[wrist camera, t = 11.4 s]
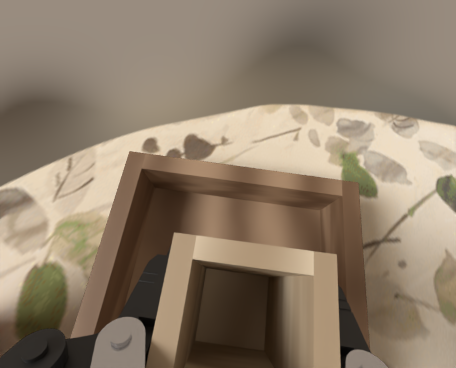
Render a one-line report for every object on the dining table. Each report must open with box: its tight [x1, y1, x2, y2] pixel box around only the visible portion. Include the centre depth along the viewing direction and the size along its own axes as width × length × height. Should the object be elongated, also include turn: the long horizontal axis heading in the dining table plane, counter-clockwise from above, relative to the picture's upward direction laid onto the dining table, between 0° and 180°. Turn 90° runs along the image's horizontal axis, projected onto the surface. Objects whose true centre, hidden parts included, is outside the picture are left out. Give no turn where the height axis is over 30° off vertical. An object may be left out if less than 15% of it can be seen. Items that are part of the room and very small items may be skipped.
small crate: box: [146, 232, 341, 368], centre depth 10 cm, size 5×5×8 cm
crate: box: [70, 151, 370, 350], centre depth 21 cm, size 21×22×6 cm
